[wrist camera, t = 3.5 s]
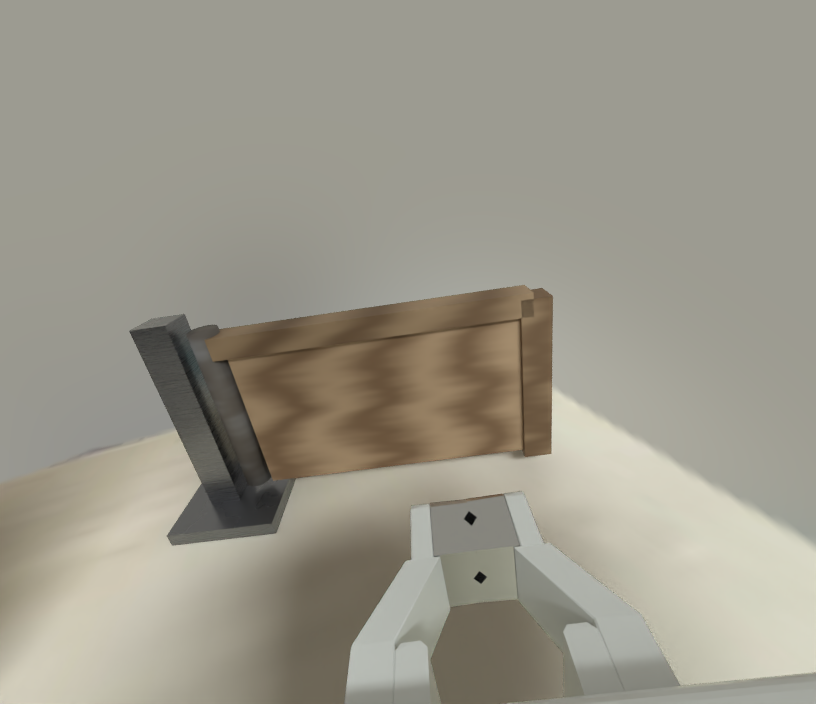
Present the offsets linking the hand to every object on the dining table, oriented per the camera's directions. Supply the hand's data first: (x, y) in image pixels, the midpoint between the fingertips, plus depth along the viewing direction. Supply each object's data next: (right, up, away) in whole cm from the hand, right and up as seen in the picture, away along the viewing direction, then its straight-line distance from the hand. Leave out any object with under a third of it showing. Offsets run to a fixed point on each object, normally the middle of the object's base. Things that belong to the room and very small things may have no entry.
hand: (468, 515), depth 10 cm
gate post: (-15, -8, +22) cm, 28 cm away
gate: (-3, -5, +20) cm, 21 cm away
